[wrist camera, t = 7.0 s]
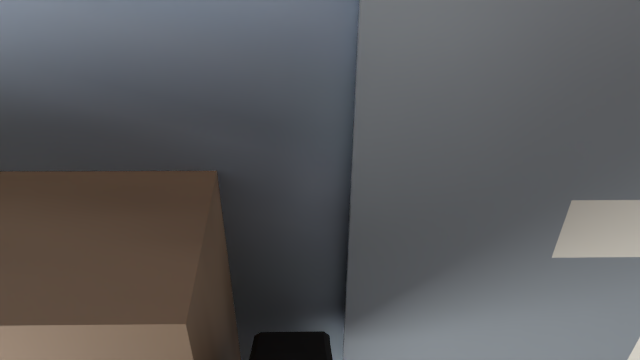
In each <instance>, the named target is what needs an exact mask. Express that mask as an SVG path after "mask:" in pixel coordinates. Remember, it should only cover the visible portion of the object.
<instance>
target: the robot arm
mask: <svg viewBox="0 0 640 360" xmlns="http://www.w3.org/2000/svg"><path fill="white" fill-rule="evenodd" d="M249 360H332V354H331V347H330V337H329V335H328V334H326V333H325V332H260V333H258V334H257V335H255V336H254V341H253V345H252V350H251V354H250V358H249Z"/></svg>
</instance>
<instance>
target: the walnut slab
mask: <svg viewBox="0 0 640 360" xmlns="http://www.w3.org/2000/svg"><path fill="white" fill-rule="evenodd" d="M0 360H241V355H240V347H239V339H238V332H237V324H236V316H235V308H234V301H233V293H232V285H231V277H230V269H229V262H228V254H227V246H226V238H225V231H224V223H223V215H222V207H221V199H220V192H219V184H218V176H217V171H3V172H0Z"/></svg>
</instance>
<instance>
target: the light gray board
mask: <svg viewBox="0 0 640 360" xmlns="http://www.w3.org/2000/svg"><path fill="white" fill-rule="evenodd" d="M343 360H640V0H359V15H358V37H357V59H356V80H355V102H354V124H353V146H352V168H351V190H350V212H349V234H348V256H347V278H346V300H345V322H344V344H343Z"/></svg>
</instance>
